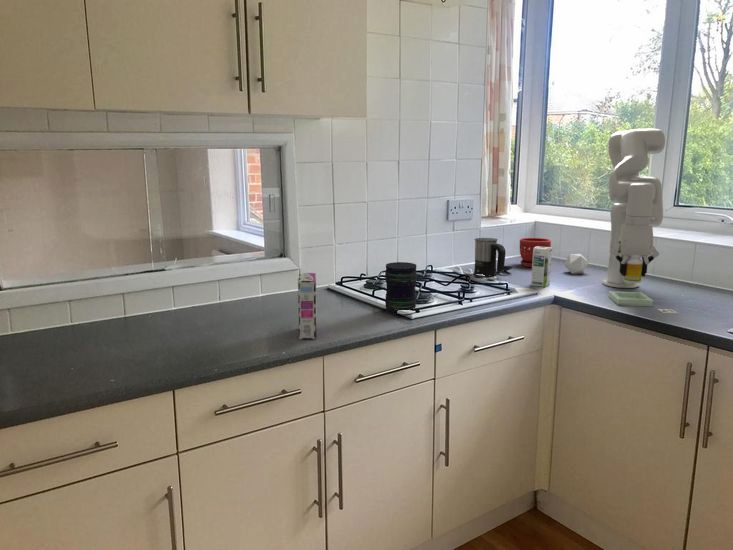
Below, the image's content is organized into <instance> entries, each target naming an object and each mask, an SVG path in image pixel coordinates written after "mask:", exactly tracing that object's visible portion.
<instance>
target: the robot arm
mask: <svg viewBox="0 0 733 550" xmlns="http://www.w3.org/2000/svg"><path fill="white" fill-rule="evenodd" d="M665 146H666V136H665V133H664V130H662V129H660V128H635V129H633V128H632V129H629V130H624V131H617V132H615V133H613V134H611V135H610V137H609V139H608V155H609V159H610V162H611V165H612V167H613V169H612V171H611V173H610V175H609V179H608V196H609V200H610V201H611V202H612V203H613V204H612V205H611V206H610V231H611V232H610V243H609V253H608V254H609V256H608V266H607V277H606V278H603V279H602V282H601V283H602V284H603V285H604V286H608V287H612V288H620V289H633V288H638V287H639V284H640V283H628V282H625V281H624V280H623V278H624V276H626V266H627V265H626V264H625V263H626V260H627V259H628V258H629V257H628V256H633V255H639V256H641V258H640V259H641V260H642V261H643V266H642V276H641V277H646V274H647V273H648V265H649V264H650V263H651V262H652V261H653V260H655V259H656V258H658V256H659V255H660V253H659V250H657V249H656V248H655V247H654V230H653V229H654V228H657V227H659V226H661V224H662V222H663V220H664V219H663V218H664V203H663V187H662V183H661V182H662V181H660V179H659V178H658V177H656V176H641V175H640V172H642V171H644V170H645V169H646V168H647V166H648V165H649V156H648V155H653V154H654V155H656V154H660V153H662V152H663V150H664V148H665Z"/></svg>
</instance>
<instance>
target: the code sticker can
mask: <svg viewBox="0 0 733 550" xmlns="http://www.w3.org/2000/svg"><path fill="white" fill-rule="evenodd" d="M657 310H658V311H659V312H661V314H677V311H676V310H674V309H669V308H668V309H667V308H657Z"/></svg>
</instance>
